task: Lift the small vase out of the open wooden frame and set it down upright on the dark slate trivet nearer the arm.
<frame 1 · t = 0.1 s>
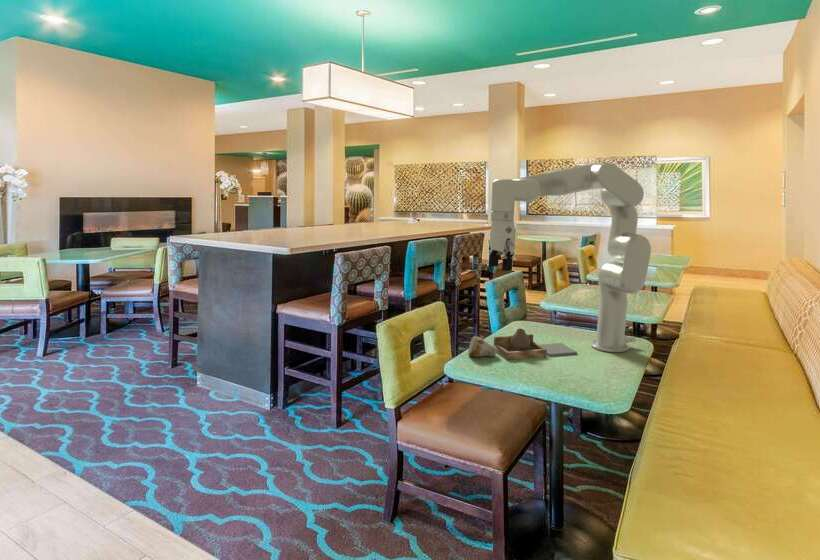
hand: (500, 268, 177), 31 cm above the table, fingers open, 9 cm apart
trivet: (555, 350, 190), on the table
wooden frame: (519, 353, 186), on the table
mug: (482, 356, 183), on the table
vase: (519, 353, 186), resting in wooden frame
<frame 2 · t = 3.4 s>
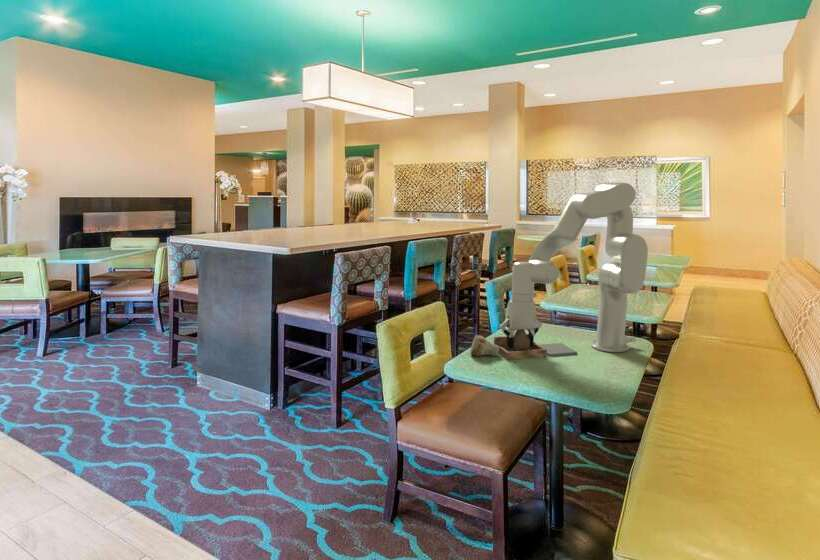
hand: (519, 346, 186), 3 cm above the table, fingers closed on vase, 6 cm apart
mug: (484, 355, 184), on the table
vase: (519, 353, 186), resting in wooden frame, touching gripper
when the fingers open (4 cm above the table, at t = 10.3 s): vase stays where it is, resting on trivet.
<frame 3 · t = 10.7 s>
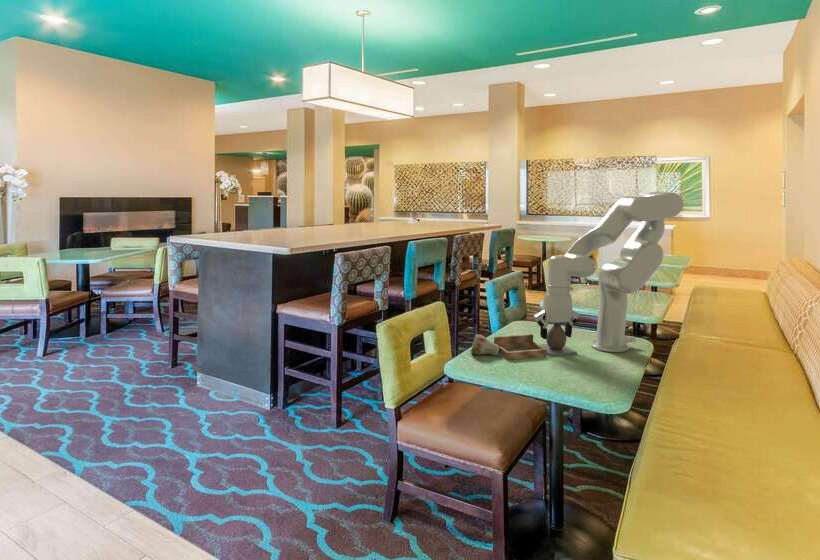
hand: (555, 337, 189), 5 cm above the table, fingers open, 9 cm apart
mug: (484, 354, 186), on the table
vase: (555, 348, 190), point 1 cm above the table, touching trivet
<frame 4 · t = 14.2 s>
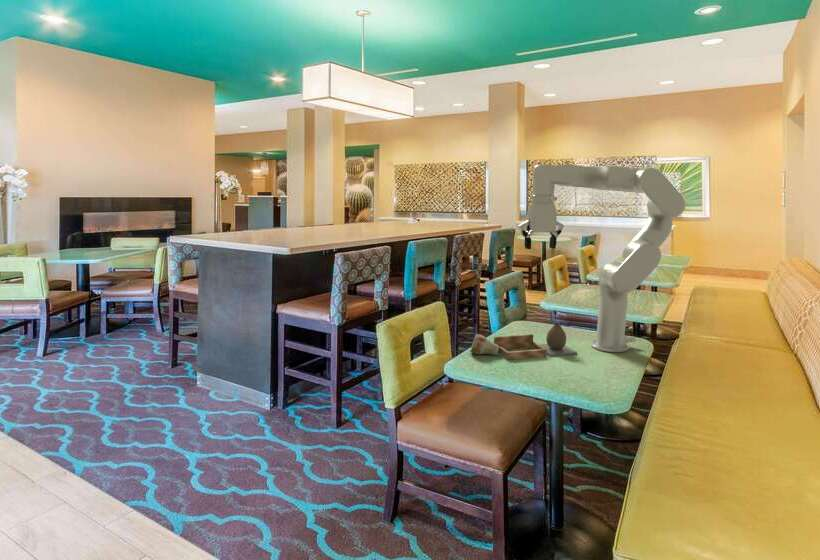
hand: (540, 248, 188), 36 cm above the table, fingers open, 9 cm apart
nothing on the table moved.
at the end: vase inside the target area on the trivet (0.2 cm from its centre), point 0.6 cm above the trivet's base; vase tilted 0°; the gripper is holding nothing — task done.
